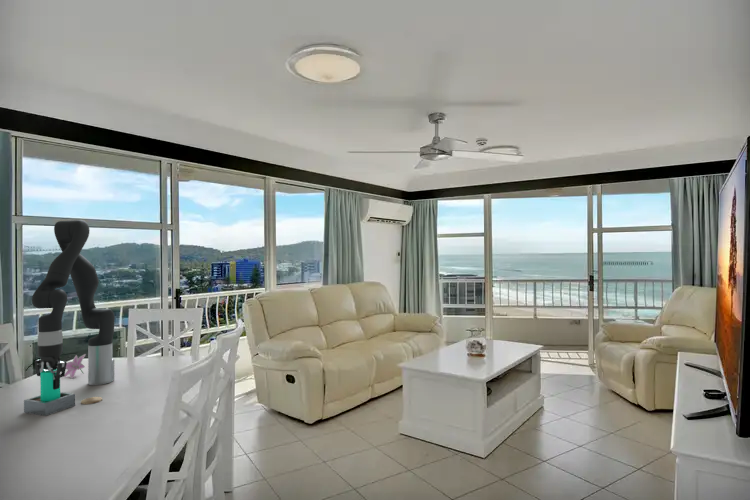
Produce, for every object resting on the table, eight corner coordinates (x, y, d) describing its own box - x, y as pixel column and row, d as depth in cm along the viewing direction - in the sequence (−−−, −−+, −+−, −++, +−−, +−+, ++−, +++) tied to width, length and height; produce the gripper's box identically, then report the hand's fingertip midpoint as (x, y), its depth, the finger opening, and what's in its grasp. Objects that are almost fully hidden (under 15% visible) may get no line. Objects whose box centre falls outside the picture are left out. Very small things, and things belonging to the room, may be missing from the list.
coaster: (93, 397, 174) (93, 396, 174) (106, 399, 172) (106, 397, 172) (76, 403, 167) (76, 401, 167) (89, 405, 165) (89, 403, 165)
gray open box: (54, 402, 168) (54, 391, 168) (75, 405, 165) (75, 393, 165) (23, 412, 158) (23, 400, 158) (45, 415, 155) (45, 403, 155)
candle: (49, 401, 158) (49, 369, 158) (36, 400, 159) (36, 368, 159) (64, 396, 164) (64, 364, 164) (51, 395, 165) (51, 364, 165)
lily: (63, 376, 210) (55, 361, 205) (90, 363, 217) (82, 348, 212) (69, 388, 202) (61, 373, 197) (97, 374, 209) (89, 359, 204)
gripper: (74, 341, 163) (74, 387, 163) (47, 339, 168) (47, 383, 168) (53, 346, 156) (54, 393, 156) (26, 343, 160) (26, 389, 160)
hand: (50, 388), depth 162 cm, fingers closed on candle, 5 cm apart
